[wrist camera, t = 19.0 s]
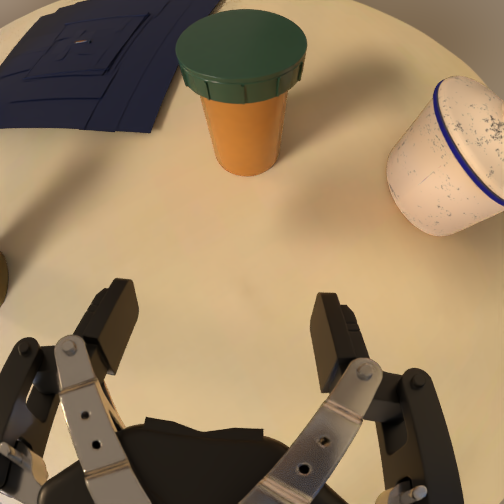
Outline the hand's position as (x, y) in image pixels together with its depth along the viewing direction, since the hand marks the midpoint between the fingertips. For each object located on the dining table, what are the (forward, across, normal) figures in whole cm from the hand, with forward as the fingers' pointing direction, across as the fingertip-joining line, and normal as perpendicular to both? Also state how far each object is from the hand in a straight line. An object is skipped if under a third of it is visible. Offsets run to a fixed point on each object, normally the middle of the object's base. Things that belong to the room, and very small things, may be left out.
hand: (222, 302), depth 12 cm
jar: (+12, 0, -4) cm, 13 cm away
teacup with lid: (+12, -16, -4) cm, 20 cm away
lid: (+5, 0, -11) cm, 12 cm away
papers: (+23, +20, -15) cm, 34 cm away
